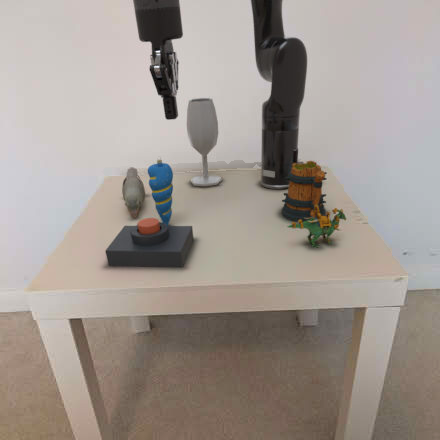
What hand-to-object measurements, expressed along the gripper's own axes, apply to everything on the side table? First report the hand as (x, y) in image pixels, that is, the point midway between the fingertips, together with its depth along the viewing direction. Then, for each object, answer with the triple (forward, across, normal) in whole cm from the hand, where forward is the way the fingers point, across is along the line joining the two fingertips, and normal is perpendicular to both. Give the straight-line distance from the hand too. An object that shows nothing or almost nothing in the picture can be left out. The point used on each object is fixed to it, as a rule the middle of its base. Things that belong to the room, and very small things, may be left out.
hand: (172, 118), depth 75 cm
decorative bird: (+22, +11, +15) cm, 28 cm away
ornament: (+22, -1, +4) cm, 22 cm away
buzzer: (+22, -13, +4) cm, 26 cm away
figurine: (+22, -10, -27) cm, 36 cm away
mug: (+23, +4, -26) cm, 35 cm away
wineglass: (+22, +29, -1) cm, 36 cm away
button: (+17, -13, +4) cm, 22 cm away
